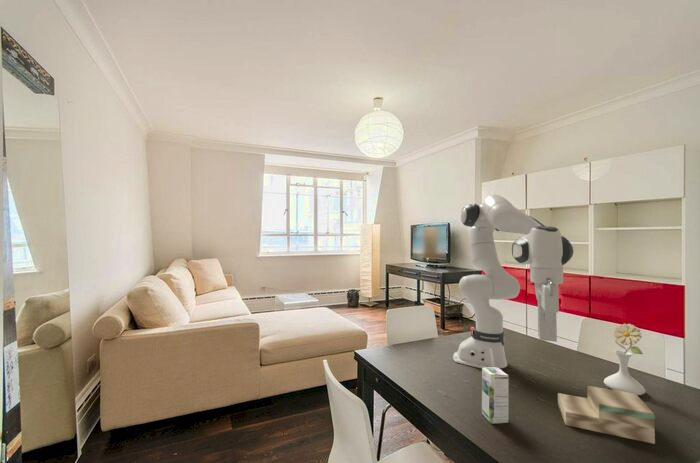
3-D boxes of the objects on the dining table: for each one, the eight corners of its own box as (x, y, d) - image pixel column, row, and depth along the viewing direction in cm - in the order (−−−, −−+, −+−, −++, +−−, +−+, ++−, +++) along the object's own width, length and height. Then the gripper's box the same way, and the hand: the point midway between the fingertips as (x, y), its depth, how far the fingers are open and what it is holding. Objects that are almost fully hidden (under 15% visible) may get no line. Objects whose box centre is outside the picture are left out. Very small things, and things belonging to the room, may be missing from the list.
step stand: (566, 425, 91) (565, 398, 91) (557, 405, 102) (557, 380, 102) (655, 444, 83) (654, 414, 83) (636, 420, 94) (635, 393, 94)
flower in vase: (595, 383, 118) (594, 317, 118) (626, 383, 118) (625, 317, 118) (625, 401, 105) (623, 327, 105) (659, 401, 104) (658, 327, 105)
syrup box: (481, 413, 97) (480, 367, 98) (498, 412, 98) (498, 366, 98) (490, 424, 92) (490, 375, 92) (509, 423, 92) (509, 374, 93)
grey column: (540, 339, 96) (539, 294, 97) (538, 335, 100) (537, 292, 101) (556, 341, 94) (556, 295, 95) (554, 337, 98) (553, 293, 99)
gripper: (564, 281, 87) (565, 330, 87) (552, 274, 105) (553, 314, 105) (538, 280, 90) (539, 328, 89) (531, 273, 108) (532, 312, 108)
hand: (547, 320), depth 97 cm, fingers closed on grey column, 4 cm apart
